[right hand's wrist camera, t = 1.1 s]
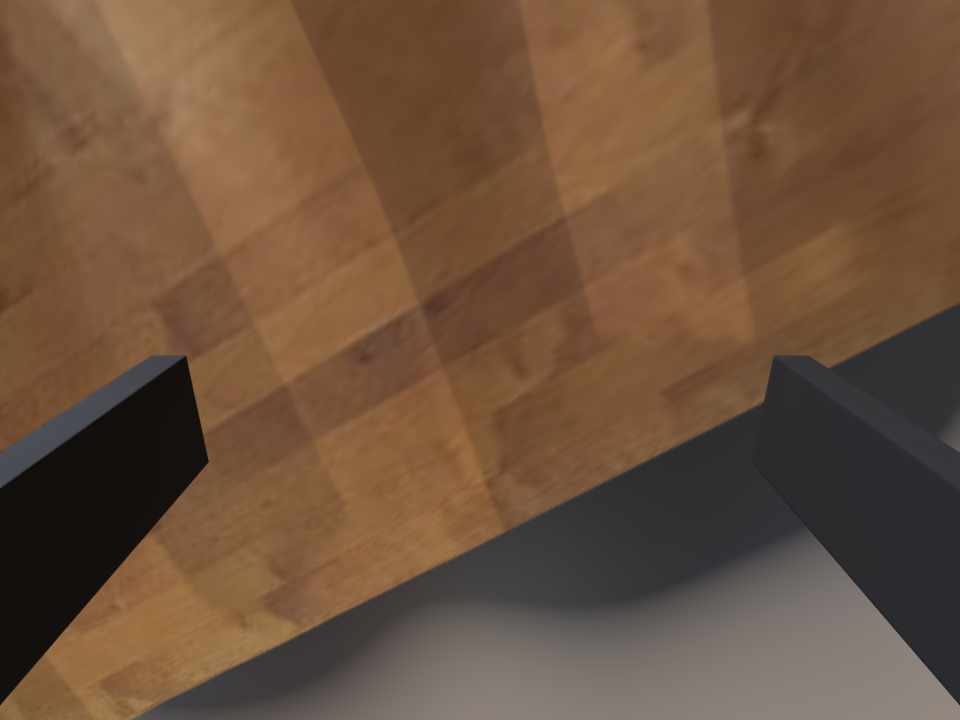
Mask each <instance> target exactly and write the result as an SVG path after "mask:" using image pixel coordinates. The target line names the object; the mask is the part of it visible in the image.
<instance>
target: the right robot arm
mask: <svg viewBox="0 0 960 720" xmlns="http://www.w3.org/2000/svg"><path fill="white" fill-rule="evenodd" d="M208 462H209V461H208V456H207V451H206V447H205V442H204V437H203V433H202V428H201V423H200V419H199V414H198V409H197V405H196V400H195V395H194V390H193V386H192V381H191V376H190V372H189V367H188V362H187V358H186V356H151V357H149V358H147V359H146V360H144V361H143V362H141V363H140V364H138V365H137V366H135V367H133V368H132V369H130V370H129V371H127V372H126V373H124V374H122V375H121V376H119V377H118V378H116V379H115V380H113V381H111V382H110V383H108V384H107V385H105V386H104V387H102V388H101V389H99V390H97V391H96V392H94V393H93V394H91V395H90V396H88V397H86V398H85V399H83V400H82V401H80V402H79V403H77V404H76V405H74V406H72V407H71V408H69V409H68V410H66V411H65V412H63V413H61V414H60V415H58V416H57V417H55V418H54V419H52V420H51V421H49V422H47V423H46V424H44V425H43V426H41V427H40V428H38V429H36V430H35V431H33V432H32V433H30V434H29V435H27V436H26V437H24V438H22V439H21V440H19V441H18V442H16V443H15V444H13V445H11V446H10V447H8V448H7V449H5V450H4V451H2V452H1V453H0V705H1V704H2V703H3V701H4V700H5V699H6V698H7V697H8V696H9V694H10V693H11V692H12V691H13V690H14V689H15V687H16V686H17V685H18V684H19V683H20V682H21V680H22V679H23V678H24V677H25V676H26V675H27V673H28V672H29V671H30V670H31V669H32V668H33V666H34V665H35V664H36V663H37V662H38V661H39V659H40V658H41V657H42V656H43V655H44V654H45V652H46V651H47V650H48V649H49V648H50V647H51V645H52V644H53V643H54V642H55V641H56V640H57V638H58V637H59V636H60V635H61V634H62V633H63V631H64V630H65V629H66V628H67V627H68V626H69V624H70V623H71V622H72V621H73V620H74V619H75V617H76V616H77V615H78V614H79V613H80V612H81V610H82V609H83V608H84V607H85V606H86V605H87V603H88V602H89V601H90V600H91V599H92V598H93V596H94V595H95V594H96V593H97V592H98V591H99V589H100V588H101V587H102V586H103V585H104V584H105V582H106V581H107V580H108V579H109V578H110V577H111V575H112V574H113V573H114V572H115V571H116V570H117V568H118V567H119V566H120V565H121V564H122V563H123V561H124V560H125V559H126V558H127V557H128V556H129V554H130V553H131V552H132V551H133V550H134V549H135V547H136V546H137V545H138V544H139V543H140V542H141V540H142V539H143V538H144V537H145V536H146V535H147V533H148V532H149V531H150V530H151V529H152V528H153V526H154V525H155V524H156V523H157V522H158V521H159V519H160V518H161V517H162V516H163V515H164V514H165V512H166V511H167V510H168V509H169V508H170V507H171V505H172V504H173V503H174V502H175V501H176V500H177V498H178V497H179V496H180V495H181V494H182V493H183V492H184V490H185V489H186V488H187V487H188V486H189V485H190V483H191V482H192V481H193V480H194V479H195V478H196V476H197V475H198V474H199V473H200V472H201V471H202V469H203V468H204V467H205V466H206V465H207V464H208ZM751 462H752V464H753V465H754V466H755V467H756V468H757V469H758V470H759V472H760V473H761V474H762V475H763V476H764V478H765V479H766V480H767V481H768V482H769V483H770V485H771V486H772V487H773V488H774V489H775V490H776V492H777V493H778V494H779V495H780V496H781V497H782V498H783V500H784V501H785V502H786V503H787V504H788V505H789V507H790V508H791V509H792V510H793V511H794V512H795V514H796V515H797V516H798V517H799V518H800V519H801V521H802V522H803V523H804V524H805V525H806V526H807V528H808V529H809V530H810V531H811V532H812V533H813V535H814V536H815V537H816V538H817V539H818V540H819V542H820V543H821V544H822V545H823V546H824V547H825V549H826V550H827V551H828V552H829V553H830V554H831V556H832V557H833V558H834V559H835V560H836V561H837V563H838V564H839V565H840V566H841V567H842V568H843V570H844V571H845V572H846V573H847V574H848V575H849V577H850V578H851V579H852V580H853V581H854V582H855V584H856V585H857V586H858V587H859V588H860V589H861V591H862V592H863V593H864V594H865V595H866V596H867V598H868V599H869V600H870V601H871V602H872V603H873V605H874V606H875V607H876V608H877V609H878V610H879V612H880V613H881V614H882V615H883V616H884V617H885V619H886V620H887V621H888V622H889V623H890V624H891V626H892V627H893V628H894V629H895V630H896V631H897V633H898V634H899V635H900V636H901V637H902V638H903V640H904V641H905V642H906V643H907V644H908V645H909V647H910V648H911V649H912V650H913V651H914V652H915V654H916V655H917V656H918V657H919V658H920V659H921V661H922V662H923V663H924V664H925V665H926V666H927V668H928V669H929V670H930V671H931V672H932V673H933V675H934V676H935V677H936V678H937V679H938V680H939V682H940V683H941V684H942V685H943V686H944V687H945V689H946V690H947V691H948V692H949V693H950V694H951V696H952V697H953V698H954V699H955V700H956V701H957V703H958V704H959V705H960V453H959V452H958V451H956V450H955V449H953V448H952V447H950V446H949V445H947V444H945V443H944V442H942V441H941V440H939V439H938V438H936V437H934V436H933V435H931V434H930V433H928V432H927V431H925V430H924V429H922V428H920V427H919V426H917V425H916V424H914V423H913V422H911V421H909V420H908V419H906V418H905V417H903V416H902V415H900V414H898V413H897V412H895V411H894V410H892V409H891V408H889V407H888V406H886V405H884V404H883V403H881V402H880V401H878V400H877V399H875V398H873V397H872V396H870V395H869V394H867V393H866V392H864V391H863V390H861V389H859V388H858V387H856V386H855V385H853V384H852V383H850V382H849V381H847V380H845V379H844V378H842V377H841V376H839V375H838V374H836V373H834V372H833V371H831V370H830V369H828V368H827V367H825V366H823V365H822V364H820V363H819V362H817V361H816V360H814V359H813V358H811V357H809V356H774V358H773V362H772V367H771V372H770V376H769V381H768V386H767V390H766V395H765V400H764V405H763V409H762V414H761V419H760V423H759V428H758V433H757V437H756V442H755V447H754V451H753V456H752V461H751Z"/></svg>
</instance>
